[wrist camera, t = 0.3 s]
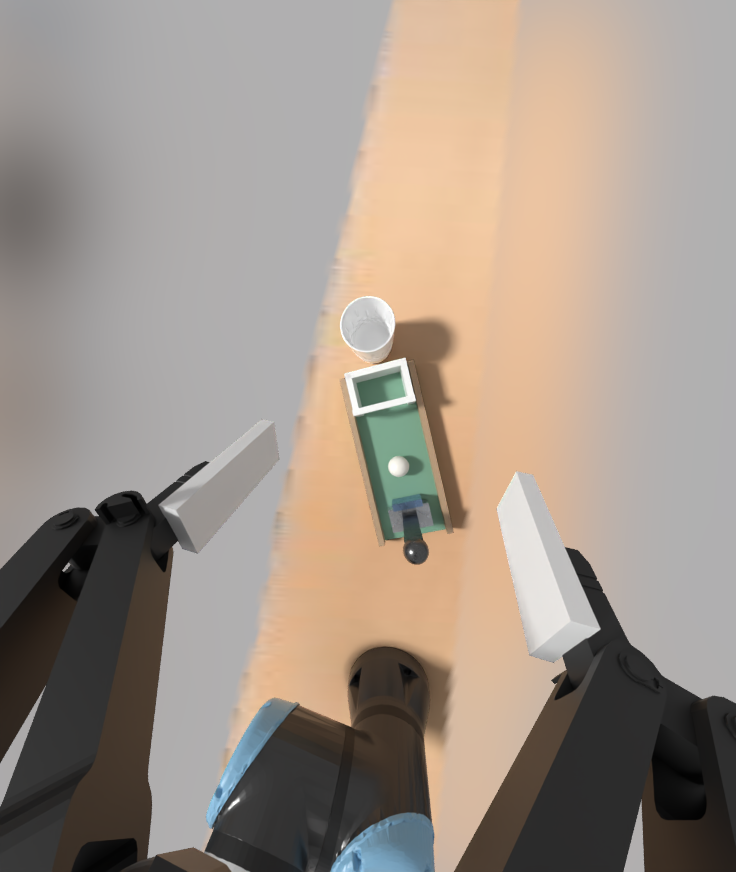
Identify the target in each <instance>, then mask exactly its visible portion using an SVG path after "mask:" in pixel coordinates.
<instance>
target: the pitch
mask: <svg viewBox="0 0 736 872" xmlns="http://www.w3.org/2000/svg"><path fill="white" fill-rule="evenodd" d="M407 366H408V371H409V375H410V379H411V384H412V388H413V392H414V394H415V399H416V401H415V402H414V404H410V405H408V404H407V403H406V404H402V405H398V406H394V407H390V408H386V409H382V410H378V411H373V412H369V413H365V414H364V416H361V417H356V416H353V412H352V410H353V409H352V405H351V400H350V396H349V392H348V388H347V384H346V379H345V378H342V379H339V380H340V384H341V388H342V393H343V397H344V401H345V405H346V409H347V414H348V418H349V422H350V426H351V430H352V435H353V439H354V443H355V447H356V451H357V455H358V460H359V464H360V468H361V472H362V476H363V481H364V485H365V489H366V493H367V497H368V501H369V506H370V510H371V514H372V518H373V522H374V527H375V531H376V535H377V539H378V543H379V546H384V545H385V540H389V539H395V538H400V537H404V531H402V532H396V533H393V529H392V525H391V521H390V517H389V513H388V507H391V506H392V499H397V498H402V497H406V496H411V495H416V494H420V496H421V499H422V500H426V499H427V500H428V503H429V507H430V512H431V516H432V520H433V526H428V527H423V528H420V529H421V533H427V532H433V531H438V530H443V529H446V531H447V533H448V534H450V533H454V532H453V527H452V523H451V519H450V515H449V510H448V506H447V502H446V497H445V493H444V489H443V484H442V480H441V476H440V471H439V467H438V463H437V458H436V454H435V450H434V446H433V441H432V437H431V433H430V428H429V424H428V420H427V415H426V411H425V407H424V402H423V398H422V394H421V389H420V385H419V381H418V376H417V372H416V368H415V364H414V360H410V361H408V362H407ZM356 384H357V388H358V392H359V397H360V401H361V405H362V407H366V406H370V405H374V404H378V403H382V402H386V401H390V400H394V399H398V398H402V397H406V395H405V391H404V386H403V382H402V378H401V374H400V372H397V373H393V374H389V375H385V376H382V377H378V378H374V379H370V380H366V381H362V382H359V383H356ZM395 456H402V457H404V458H405V459H406V460H407V461H408V463H409V470H408V472H407V474H406V475H404V476H402V477H396V476H393V475H392V474H391V473H390V472H389V469H388V464H389V461H390V460H391V459H392V458H393V457H395Z"/></svg>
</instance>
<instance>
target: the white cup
mask: <svg viewBox="0 0 736 872" xmlns="http://www.w3.org/2000/svg"><path fill="white" fill-rule="evenodd" d="M340 329H341V334H342V336H343V338H344V340H345V342H346V343H347V344H348V345H349V347H350V348H351V349H352V351H353V352H354V353H355V354H356V355H357V356H358V357H359V358H361V359H362V360H363V361H364V362H367V363H370V364H375V363H380V362H382V361H383V360H384V359H386V358H387V357H388V355H389V353H390V351H391V349H392V345H393V340H394V331H395V317H394V313H393V311H392V309H391V308H390V306H389V305H388V304H387V303H386V302H385V301H383V300H382V299H380V298H377V297H374V296H364V297H360V298H358V299H356V300H354V301H352V302H351V303H350V304H349V305H348V306H347V307H346V309H345V310H344V312H343V314H342V317H341V322H340Z"/></svg>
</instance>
